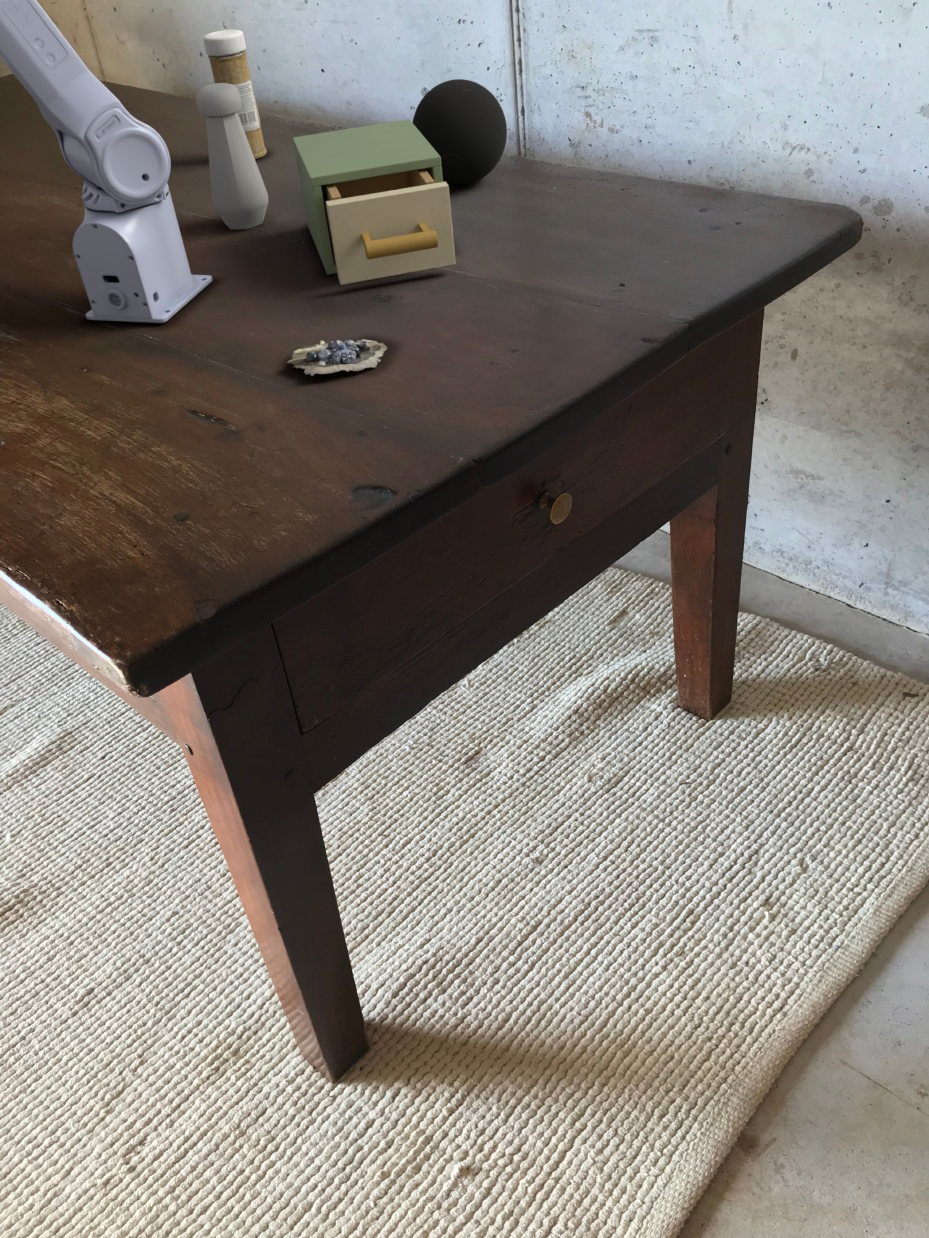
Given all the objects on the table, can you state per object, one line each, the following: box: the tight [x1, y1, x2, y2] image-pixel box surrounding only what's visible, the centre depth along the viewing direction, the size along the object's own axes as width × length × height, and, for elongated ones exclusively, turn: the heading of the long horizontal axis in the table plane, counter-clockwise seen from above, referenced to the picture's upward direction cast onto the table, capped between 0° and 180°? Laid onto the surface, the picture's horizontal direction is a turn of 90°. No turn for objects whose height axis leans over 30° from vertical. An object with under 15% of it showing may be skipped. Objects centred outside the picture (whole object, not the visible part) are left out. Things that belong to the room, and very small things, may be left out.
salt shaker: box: [195, 83, 269, 230], centre depth 103 cm, size 6×6×13 cm
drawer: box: [321, 168, 457, 286], centre depth 91 cm, size 17×10×7 cm, turn 14°
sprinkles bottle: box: [203, 29, 267, 160], centre depth 121 cm, size 5×5×14 cm
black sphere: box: [412, 78, 508, 186], centre depth 108 cm, size 10×10×10 cm
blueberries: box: [286, 338, 388, 377], centre depth 79 cm, size 7×8×2 cm
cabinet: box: [292, 118, 443, 276], centre depth 97 cm, size 14×12×9 cm
